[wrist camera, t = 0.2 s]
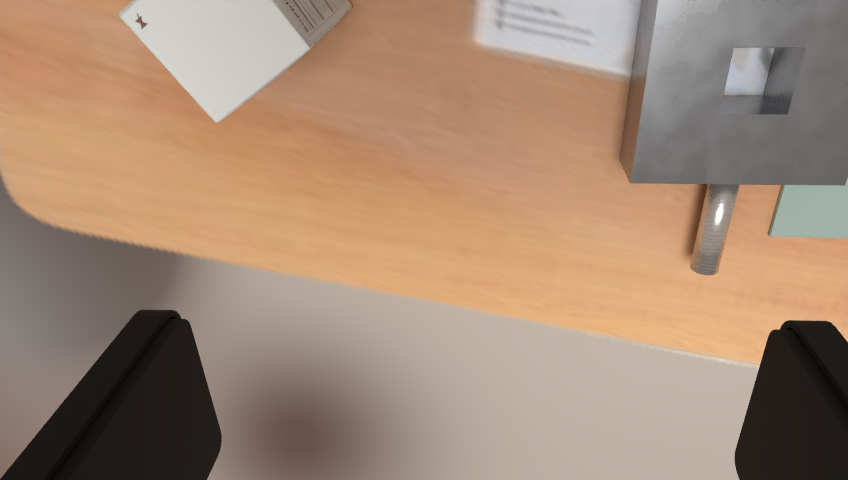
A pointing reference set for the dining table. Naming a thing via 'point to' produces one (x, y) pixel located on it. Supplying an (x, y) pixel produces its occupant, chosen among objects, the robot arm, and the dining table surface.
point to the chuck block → (737, 103)
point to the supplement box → (230, 42)
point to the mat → (811, 211)
